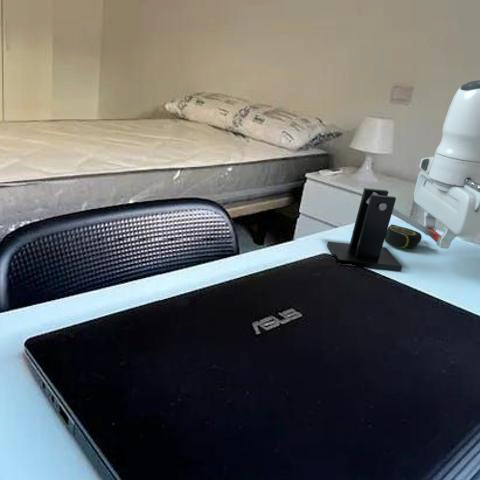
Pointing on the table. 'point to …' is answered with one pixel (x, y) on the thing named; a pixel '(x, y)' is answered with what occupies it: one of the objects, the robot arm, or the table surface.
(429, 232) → the lever
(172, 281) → the table surface
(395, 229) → the tape measure
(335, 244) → the bracket
